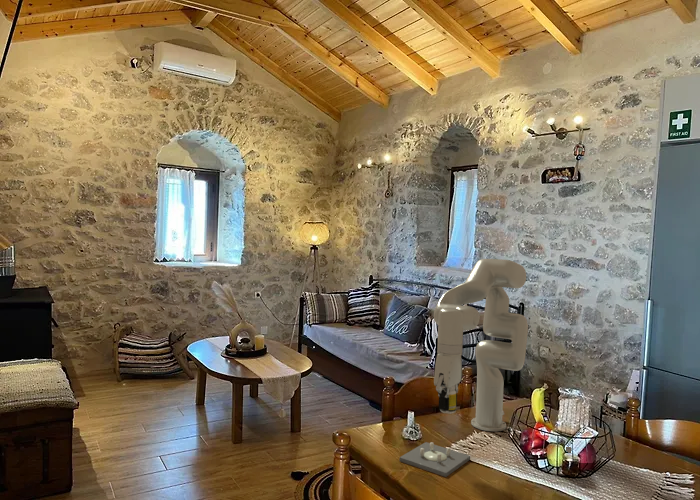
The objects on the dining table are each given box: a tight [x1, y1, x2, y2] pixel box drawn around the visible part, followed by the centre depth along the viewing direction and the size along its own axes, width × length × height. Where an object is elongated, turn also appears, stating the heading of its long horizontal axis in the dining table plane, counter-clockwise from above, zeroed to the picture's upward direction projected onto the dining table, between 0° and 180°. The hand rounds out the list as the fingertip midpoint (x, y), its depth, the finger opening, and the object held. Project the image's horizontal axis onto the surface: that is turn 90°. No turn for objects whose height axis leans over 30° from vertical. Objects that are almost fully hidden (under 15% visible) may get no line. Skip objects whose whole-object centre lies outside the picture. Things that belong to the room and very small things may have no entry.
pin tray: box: [399, 441, 471, 478], centre depth 166 cm, size 16×16×4 cm
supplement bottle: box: [439, 384, 457, 415], centre depth 164 cm, size 5×5×8 cm
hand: (447, 406), depth 164 cm, fingers closed on supplement bottle, 4 cm apart
